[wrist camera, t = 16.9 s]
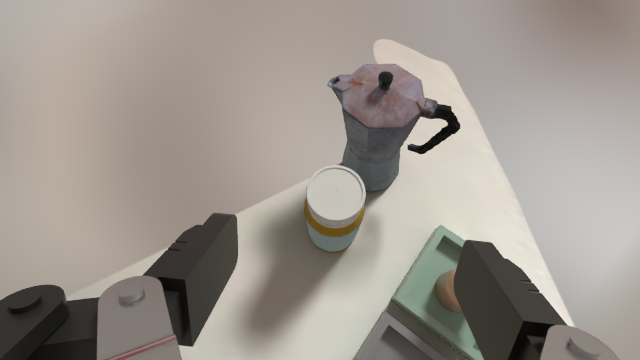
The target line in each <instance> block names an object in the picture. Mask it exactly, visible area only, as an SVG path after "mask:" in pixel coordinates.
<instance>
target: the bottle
mask: <svg viewBox="0 0 640 360" xmlns="http://www.w3.org/2000/svg"><path fill="white" fill-rule="evenodd" d="M365 190H366V189H365V186H364V183H363V181H362V179H361V178H360V176H359V175H358V174H357V173H356V172H354V171H353V170H352V169H350V168H348V167H345V166H340V165H332V166H327V167H324V168H322V169H320V170H318V171H317V172H316V173H315V174H314V175H313V176H312V177H311V178H310V180H309V182H308V185H307V189H306V200H305V217H306V222H307V228H308V233H309V236H310V238H311V240H312V241H313V243H314V244H315V245H316V246H317V247H319V248H320V249H322V250H324V251H327V252H338V251H341V250H344V249H345V248H347V247H348V246H349V245H350V244H351V243H352V241H353V240H354V238H355V236H356V234H357V231H358V229H359V226H360V224H361V221H362V219H363V215H364V210H365V208H364V202H365V199H366V198H365V197H366V195H365V194H366V191H365Z"/></svg>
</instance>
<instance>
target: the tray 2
mask: <svg viewBox="0 0 640 360" xmlns="http://www.w3.org/2000/svg"><path fill="white" fill-rule="evenodd" d="M353 360H447V359H446V358H445V357H443V356H442V355H441V354H440V353H438V352H437V351H436V350H434V349H433V348H432V347H431V346H429V345H428V344H427V343H425V342H424V341H423V340H422V339H420V338H419V337H418V336H416V335H415V334H414V333H413V332H411V331H410V330H409V329H407V328H406V327H405V326H404V325H402V324H401V323H400V322H398V321H397V320H396V319H395V318H393V317H392V316H391V315H389V314H388V313H387V312H383V313H382V314H381V316H380V318H379V319H378V321H377V322H376V324H375V326H374V327H373V329H372V330H371V332H370V334H369V335H368V337H367V338H366V340H365V341H364V343H363V345H362V346H361V348H360V349H359V351H358V353H357V354H356V356H355V357H354V359H353Z"/></svg>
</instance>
